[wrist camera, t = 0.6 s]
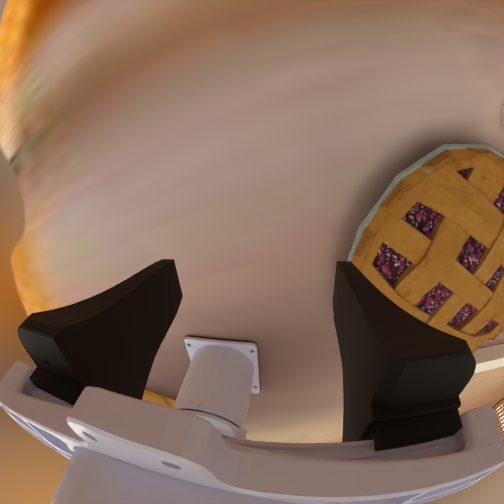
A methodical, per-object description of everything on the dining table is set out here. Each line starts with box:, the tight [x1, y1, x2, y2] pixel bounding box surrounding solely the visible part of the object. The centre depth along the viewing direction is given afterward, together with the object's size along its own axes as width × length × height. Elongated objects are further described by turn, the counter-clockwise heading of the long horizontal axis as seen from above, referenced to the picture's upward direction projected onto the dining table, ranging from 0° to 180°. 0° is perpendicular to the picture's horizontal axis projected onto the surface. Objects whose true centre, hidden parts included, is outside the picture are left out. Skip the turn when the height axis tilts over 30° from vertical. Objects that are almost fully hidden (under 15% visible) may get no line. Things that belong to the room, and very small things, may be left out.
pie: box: [347, 144, 504, 354], centre depth 19 cm, size 22×22×5 cm
